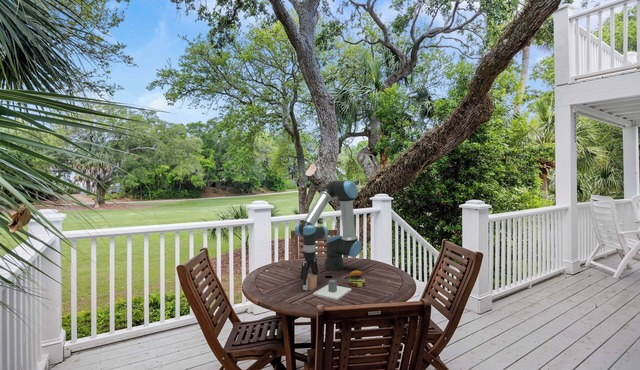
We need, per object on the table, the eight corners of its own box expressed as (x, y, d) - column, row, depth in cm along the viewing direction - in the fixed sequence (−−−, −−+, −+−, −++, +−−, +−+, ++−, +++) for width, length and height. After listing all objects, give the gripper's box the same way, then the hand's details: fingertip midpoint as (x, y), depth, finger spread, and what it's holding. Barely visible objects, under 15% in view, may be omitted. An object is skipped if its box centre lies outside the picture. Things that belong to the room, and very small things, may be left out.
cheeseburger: (352, 288, 207) (350, 271, 209) (346, 287, 217) (345, 270, 219) (368, 286, 210) (366, 269, 212) (361, 285, 220) (359, 269, 222)
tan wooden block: (308, 285, 213) (308, 273, 213) (316, 287, 210) (316, 275, 210) (302, 288, 208) (302, 276, 208) (311, 290, 205) (311, 277, 205)
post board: (328, 285, 213) (328, 274, 212) (351, 290, 205) (351, 278, 204) (312, 294, 197) (312, 283, 197) (337, 300, 189) (337, 287, 189)
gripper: (313, 246, 219) (314, 281, 220) (294, 254, 201) (294, 291, 202) (323, 248, 216) (324, 283, 217) (304, 255, 197) (305, 294, 198)
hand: (309, 287), depth 209 cm, fingers open, 9 cm apart
